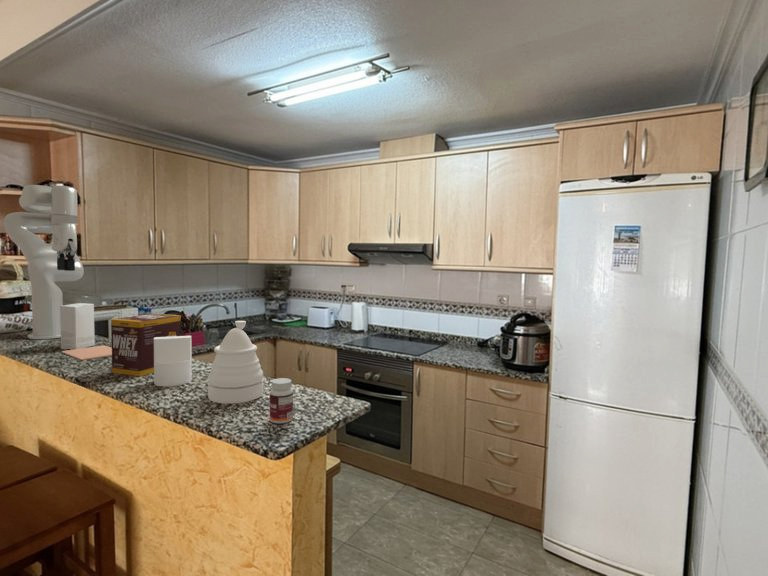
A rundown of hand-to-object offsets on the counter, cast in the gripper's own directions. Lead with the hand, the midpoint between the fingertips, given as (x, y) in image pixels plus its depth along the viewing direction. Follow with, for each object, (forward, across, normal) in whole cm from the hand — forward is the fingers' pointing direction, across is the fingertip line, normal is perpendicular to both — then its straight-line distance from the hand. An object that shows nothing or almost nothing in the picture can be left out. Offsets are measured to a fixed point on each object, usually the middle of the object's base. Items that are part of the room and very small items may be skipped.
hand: (66, 269), depth 152 cm
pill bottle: (+28, +117, 0) cm, 120 cm away
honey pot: (+28, +96, +4) cm, 100 cm away
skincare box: (+28, +10, 0) cm, 29 cm away
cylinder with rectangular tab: (+28, +74, 0) cm, 79 cm away
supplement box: (+28, +56, +2) cm, 63 cm away
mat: (+28, +23, 0) cm, 36 cm away
